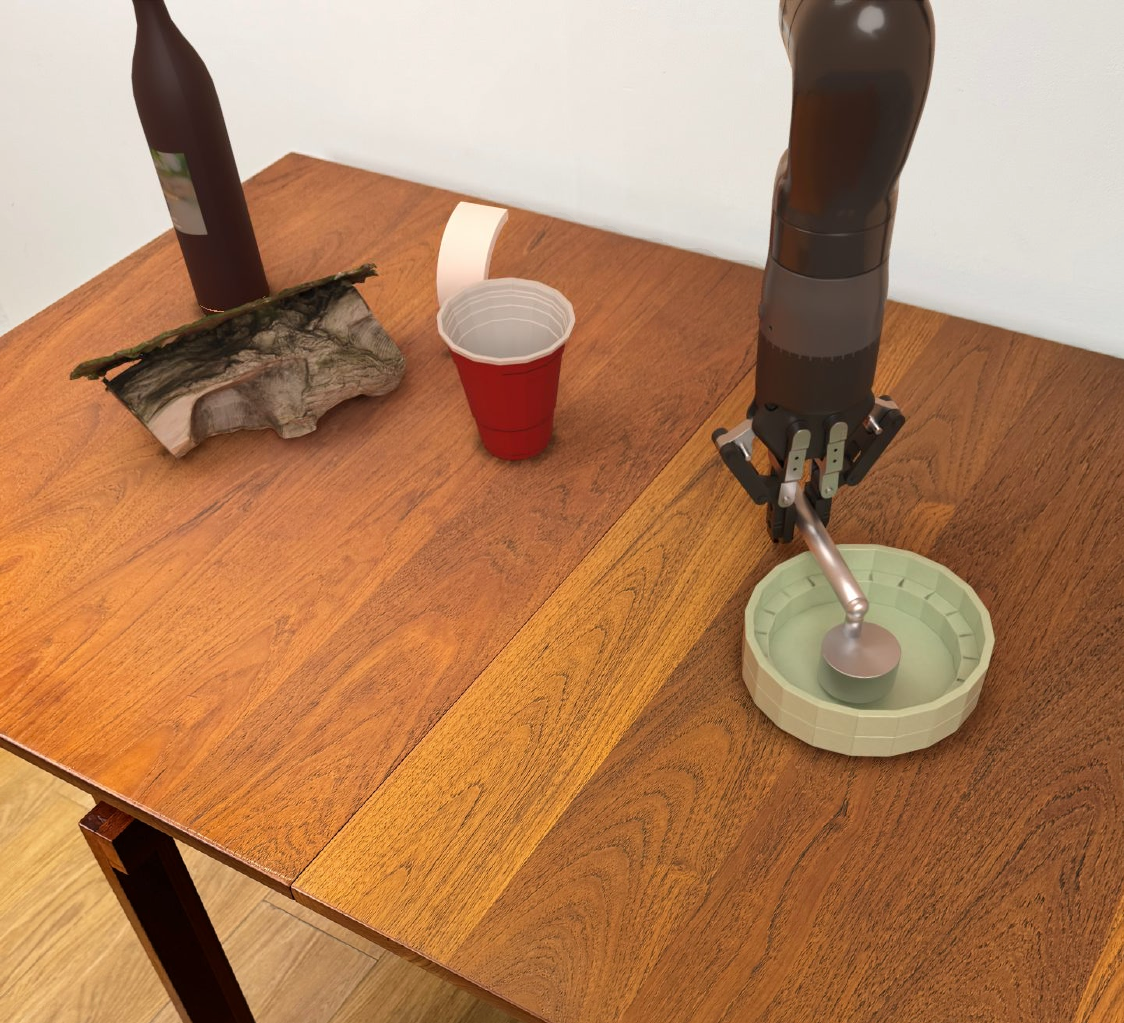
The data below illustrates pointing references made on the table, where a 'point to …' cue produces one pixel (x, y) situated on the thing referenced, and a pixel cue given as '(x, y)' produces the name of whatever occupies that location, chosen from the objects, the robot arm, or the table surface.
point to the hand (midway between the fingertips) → (796, 533)
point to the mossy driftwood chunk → (257, 365)
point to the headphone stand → (467, 247)
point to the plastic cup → (508, 359)
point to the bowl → (895, 604)
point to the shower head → (847, 623)
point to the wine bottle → (194, 163)
